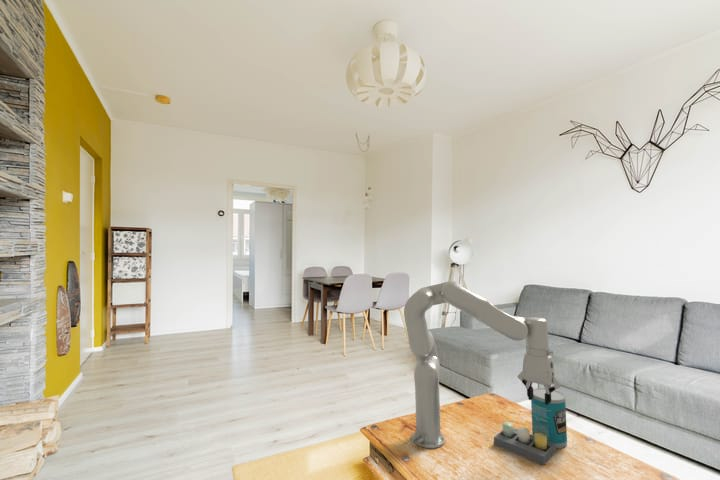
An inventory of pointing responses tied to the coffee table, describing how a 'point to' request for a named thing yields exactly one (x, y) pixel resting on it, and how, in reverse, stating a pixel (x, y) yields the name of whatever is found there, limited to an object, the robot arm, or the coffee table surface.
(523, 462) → the coffee table surface
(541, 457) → the gray compartment tray
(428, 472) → the coffee table surface
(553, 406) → the food can
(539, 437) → the key mustard
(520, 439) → the key ivory
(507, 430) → the pale green egg
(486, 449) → the coffee table surface
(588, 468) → the coffee table surface
